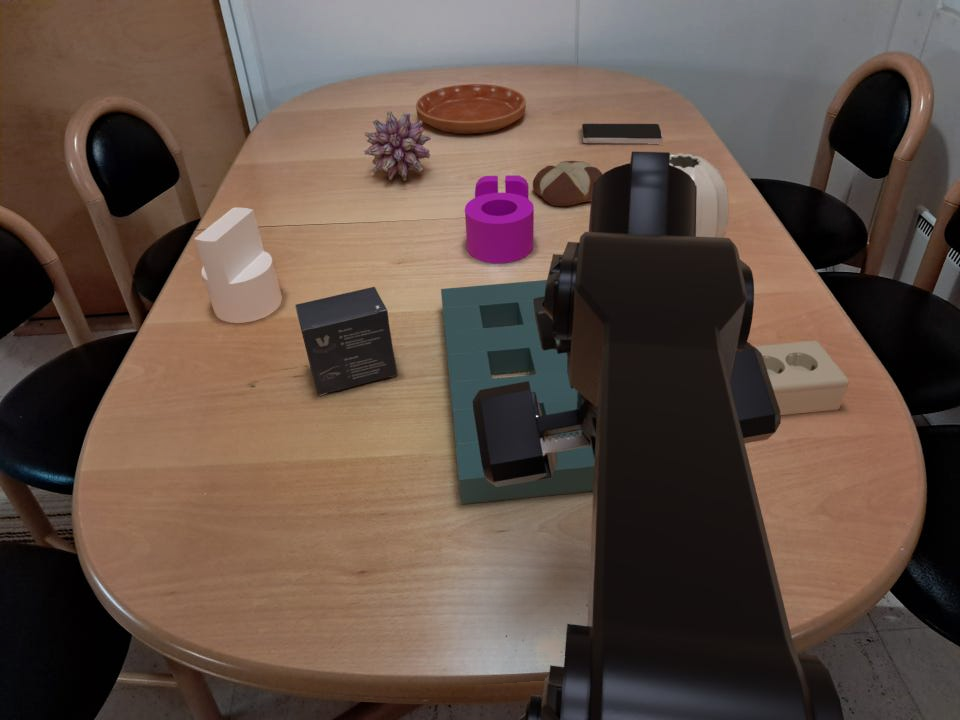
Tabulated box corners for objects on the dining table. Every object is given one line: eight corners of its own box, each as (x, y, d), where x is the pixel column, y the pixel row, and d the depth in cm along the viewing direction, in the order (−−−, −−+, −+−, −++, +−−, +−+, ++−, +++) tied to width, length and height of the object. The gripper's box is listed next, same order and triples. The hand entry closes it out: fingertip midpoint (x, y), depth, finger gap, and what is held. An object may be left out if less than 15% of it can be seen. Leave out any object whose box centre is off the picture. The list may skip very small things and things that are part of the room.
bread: (614, 200, 114) (617, 171, 111) (551, 213, 111) (551, 184, 108) (583, 174, 122) (585, 147, 119) (524, 186, 119) (524, 158, 116)
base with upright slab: (260, 327, 89) (236, 245, 82) (200, 317, 92) (171, 237, 84) (294, 290, 96) (274, 211, 88) (238, 282, 98) (214, 204, 91)
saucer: (547, 113, 147) (547, 96, 144) (476, 147, 134) (475, 128, 131) (467, 94, 159) (466, 77, 157) (395, 123, 146) (392, 105, 144)
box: (386, 350, 84) (376, 284, 79) (398, 377, 80) (388, 309, 74) (310, 369, 82) (293, 302, 76) (318, 397, 78) (301, 329, 72)
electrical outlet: (658, 353, 75) (818, 338, 76) (653, 381, 78) (808, 366, 79) (679, 396, 70) (851, 379, 71) (674, 425, 72) (840, 409, 73)
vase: (642, 219, 108) (652, 135, 100) (732, 239, 102) (750, 151, 94) (607, 259, 99) (615, 170, 91) (704, 283, 93) (722, 190, 85)
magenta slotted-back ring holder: (533, 263, 99) (533, 223, 95) (464, 263, 100) (462, 224, 96) (533, 211, 112) (533, 175, 108) (472, 212, 112) (470, 175, 108)
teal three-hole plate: (605, 489, 66) (608, 464, 64) (461, 504, 65) (459, 479, 63) (547, 302, 91) (547, 279, 89) (442, 311, 91) (440, 288, 88)
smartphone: (663, 138, 131) (583, 138, 132) (662, 144, 132) (583, 144, 133) (658, 123, 137) (582, 123, 138) (657, 129, 138) (581, 129, 139)
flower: (441, 178, 127) (412, 192, 117) (383, 167, 130) (350, 180, 120) (444, 112, 121) (414, 121, 112) (384, 103, 125) (349, 111, 115)
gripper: (757, 220, 40) (707, 325, 55) (444, 281, 41) (476, 368, 56) (820, 400, 36) (748, 462, 51) (472, 462, 37) (498, 505, 52)
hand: (613, 444), depth 53 cm, fingers open, 9 cm apart
